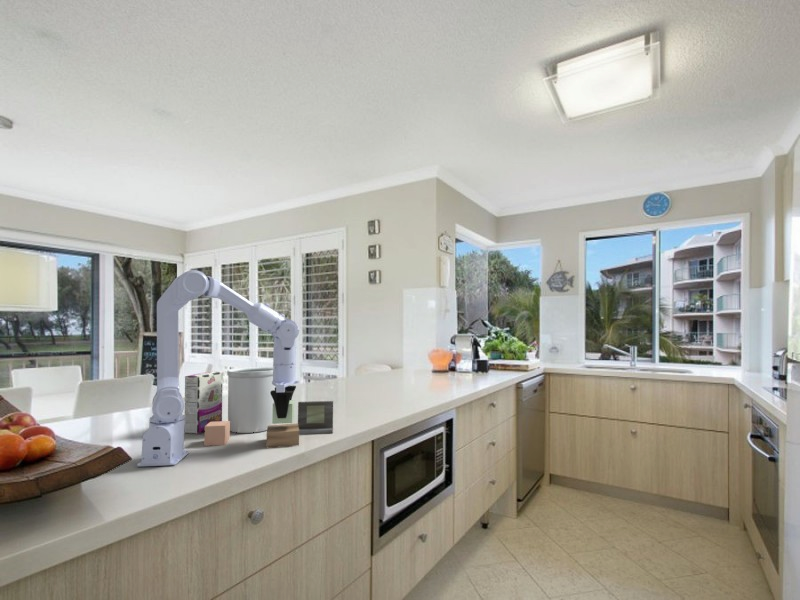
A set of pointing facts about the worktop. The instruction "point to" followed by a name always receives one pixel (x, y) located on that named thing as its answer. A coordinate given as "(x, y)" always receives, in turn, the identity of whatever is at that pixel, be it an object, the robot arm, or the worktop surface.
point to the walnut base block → (282, 435)
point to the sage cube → (288, 418)
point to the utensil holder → (250, 399)
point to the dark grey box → (315, 417)
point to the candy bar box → (202, 400)
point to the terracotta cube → (217, 433)
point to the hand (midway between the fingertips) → (283, 415)
